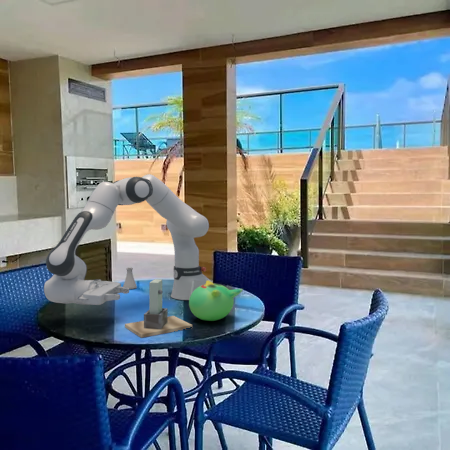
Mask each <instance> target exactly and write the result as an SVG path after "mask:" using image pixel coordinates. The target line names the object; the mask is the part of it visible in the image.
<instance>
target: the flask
mask: <svg viewBox="0 0 450 450" xmlns="http://www.w3.org/2000/svg"><path fill="white" fill-rule="evenodd" d="M122 285H123V286H122V287H124V288H129V290H133V289H137V288H138V285H137V283H136V280H135V278H134V275H133V267H127V268H126V277H125V279H124V283H123V284H122Z"/></svg>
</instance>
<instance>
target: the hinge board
mask: <svg viewBox="0 0 450 450" xmlns="http://www.w3.org/2000/svg"><path fill="white" fill-rule="evenodd" d="M168 312H169V311H168V307H166V308H165V307H162V312H161V313H160V314H149V309H148V310H147V311H146V312H144V313H143V320H140V321H135V322H133V321H132V322H129V323H124V328H125V329H127V330H128V331H130V332H132V333H133V334H135V335H136V336H138V337H139V338H142V339H143V338H149V337H153V336H158V335H163V334H164V335H165V334H168V333H174V331H175V332H179V331H178V330H180V331H184V330H183V329H185V330H187V329H186V328H190V327H192V328H193V324H191V323H190V322H187V321H185V320H183V319H181V318H179V317H177V316H175V315H170V316H169V314H168Z"/></svg>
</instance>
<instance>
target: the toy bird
mask: <svg viewBox="0 0 450 450" xmlns="http://www.w3.org/2000/svg"><path fill="white" fill-rule="evenodd" d="M211 281H212V280H211ZM211 281H206V284H204V285H201V286H199V287H198V288H196V289H195V290H194V291H193V293H192V294H191V296H190V299H189V300H188V306H189V307H188V308H189V310H190V311H191V313H192V314H193V316H194V317H196V318H198V319H200V320H202V321H206V322H214V321H219V320H221V319H224V318H225V317H227V316H228V315H229V314H230V312H231V311H232V309H233V307H234V303H235V301H234V300H235V299H234V298H235V297H237V296H238V295H240V294H241V293H242V292H243V289H244V288H235V289H229V288H228V287H226V286H225V285H222V284H219V283H214V282H213V281H212V282H213V283H212V282H211Z"/></svg>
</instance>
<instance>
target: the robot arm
mask: <svg viewBox="0 0 450 450" xmlns="http://www.w3.org/2000/svg"><path fill="white" fill-rule="evenodd" d="M143 202H147V204H148V205H149V206H150V207H151V208H152V209H153V210H154V211H156V213H157V214H159V216H161V217H162V218H164V219H165V220H166V228H167V230H168V231H169V233H170V236H171V240H172V244H173V249H174V265H173V285H172V290H171V295H170V297H171V298H172V299H175V300H182V301H189V299H190V296H191V294H192V293H193V291H194V290H195V289H196V288H198V287H199V286H201V285H204V284H206V281H211V282H212V283H214V282H213V281H212V280H211V279H209V278H208V277H207V276H206V275H204V274H203V272H206V271H207V267H204V266H200V265H199V264H200V259H199V258H200V250H199V247H198V246H197V244H196V241H195V239H196V238H201V237H203V236H205V235H206V234H207V233H208V231H209V228H210V224H209V220H208V218H207V217H206V216H204V215H203V214H201V213H199V212H197V210H196V209H193V208H192V207H191V206H190V205H188V204H187V203H185V202H184V201H183V200H182V199H180V198H179V197H178V196H177V195H176V194H175V193H174V192H173V191H172V190H171V188H170V187H168V186H167V184H166V183H164V182H163V181H162V180H161V179H159V178H158V177H156V176H155V175H153V174H151V173H150V174H149V173H148V174H144V175H143V176H142V177H141V176H133V177H131V176H130V177H125V178H123V179H119V180H115V181H114V182H111V181H101V182H100V183H99V184H97V186H96V187H95V188H94V190H93V191H92V193H91V194H90V196H89V198H88V199H87V202H86V204H85V206H84V208H83V209H82V210H81V211H80V212H79V213H77V215H76V216H75V217H74V218H73V220H72V222H71V223H70V224H69V226H68V228H67V230H66V231H65V232H64V234H63V235H62V237H61V238H60V241H58V243H57V244H56V246H54V247H53V248H52V249H51V251H50V252H49V253H48V255H47V256H46V260H45V263H46V264H45V265H46V269H47V270H48V272H49V273H51V274H53V275H52V276H51V277H50V278H49V279H48V280H46V281H45V282H44V286H43V292H44V295H45V297H46V299H47V300H48V301H49V302H53V303H57V304H77V305H88V306H89V305H90V306H91V305H94V306H95V305H96V306H100V305H102V304H105V302H110V301H119V300H120V299H121V294H124V295H125V294H126V295H127V294H129V293H130V289H129V288H124V287H123V286H122V284H121V283H120V282H119V281H118V282H117V281H109V280H108V281H107V280H102V279H99V278H97V279H86V276H87V271H88V267H87V264H86V262H85V261H84V259H83V260H82V258H80V257H79V256H77V255H76V249H77V248H78V246H79V245H80V243H81V242H82V239H83V238H84V236H85V234H86V233H87V232H90V230H94V231H96V230H102V229H105V228H106V227H107V226H108V225H109V223H110V221H111V220H112V218H113V216H114V214H115V211H116V208H117V207H118V206H131V205H136V204H139V203H140V204H141V203H143Z"/></svg>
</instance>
